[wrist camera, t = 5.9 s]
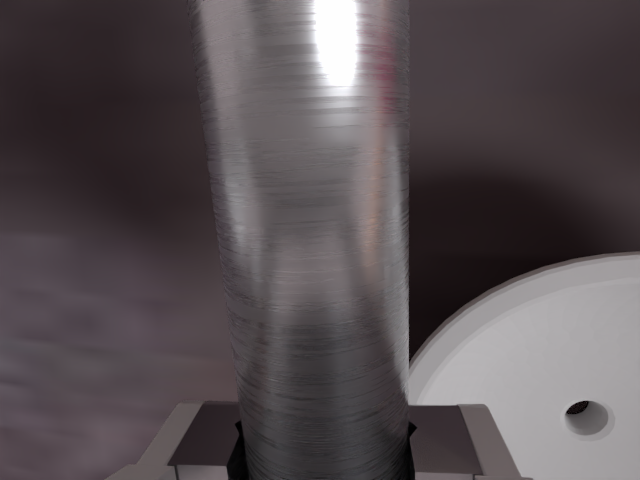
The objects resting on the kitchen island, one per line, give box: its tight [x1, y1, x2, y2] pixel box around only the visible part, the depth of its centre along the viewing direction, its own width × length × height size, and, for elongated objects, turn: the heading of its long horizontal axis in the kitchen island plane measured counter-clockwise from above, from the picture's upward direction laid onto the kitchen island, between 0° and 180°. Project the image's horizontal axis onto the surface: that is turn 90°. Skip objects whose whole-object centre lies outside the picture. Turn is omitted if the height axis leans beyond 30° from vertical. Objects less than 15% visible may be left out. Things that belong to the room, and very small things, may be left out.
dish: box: [409, 251, 640, 480], centre depth 14 cm, size 18×14×5 cm
